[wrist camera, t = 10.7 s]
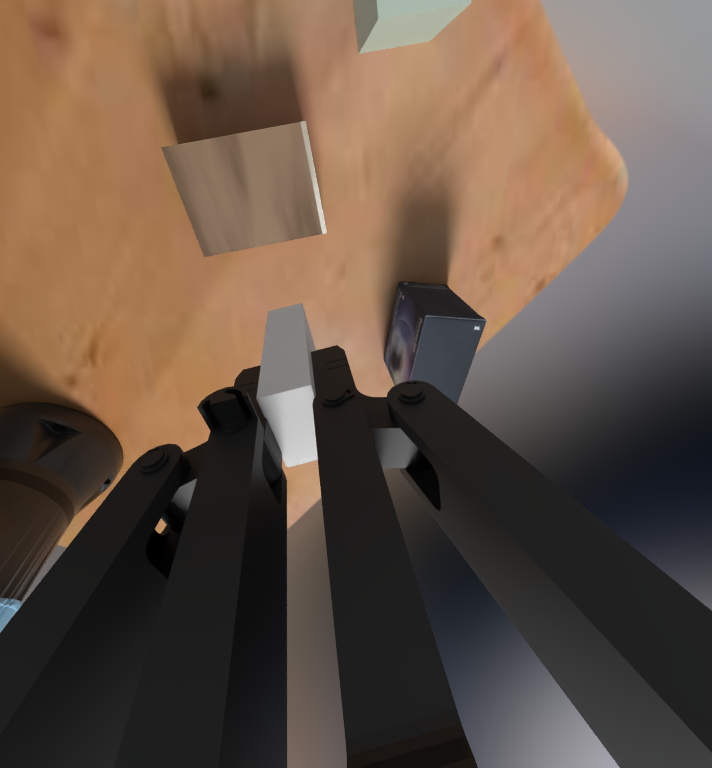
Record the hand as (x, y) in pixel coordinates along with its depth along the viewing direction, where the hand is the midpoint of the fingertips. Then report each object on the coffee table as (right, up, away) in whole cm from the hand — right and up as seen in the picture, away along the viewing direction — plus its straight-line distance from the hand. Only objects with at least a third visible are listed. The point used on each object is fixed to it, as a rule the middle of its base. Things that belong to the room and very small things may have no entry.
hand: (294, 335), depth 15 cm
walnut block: (-1, +16, +15) cm, 22 cm away
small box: (+10, +5, +27) cm, 29 cm away
